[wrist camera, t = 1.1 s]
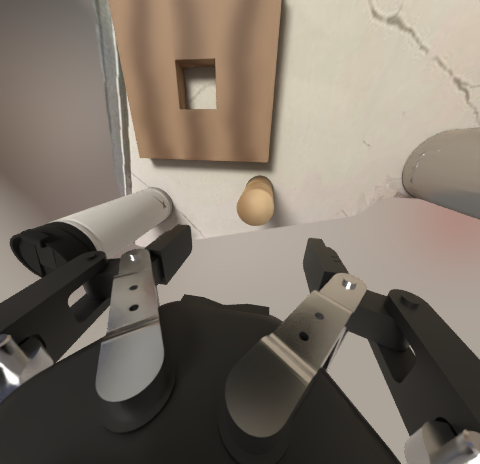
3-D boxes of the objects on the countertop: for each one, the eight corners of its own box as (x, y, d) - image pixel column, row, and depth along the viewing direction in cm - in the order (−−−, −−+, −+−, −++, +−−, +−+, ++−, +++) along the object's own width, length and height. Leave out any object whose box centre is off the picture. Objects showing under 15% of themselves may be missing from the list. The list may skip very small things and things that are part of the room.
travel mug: (176, 193, 33) (65, 249, 15) (169, 223, 36) (71, 301, 18) (143, 179, 33) (-8, 220, 15) (140, 211, 36) (9, 278, 18)
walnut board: (282, -9, 21) (283, -27, 18) (268, 161, 28) (268, 162, 26) (121, 3, 23) (106, -12, 21) (149, 157, 31) (139, 157, 28)
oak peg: (273, 174, 29) (276, 190, 18) (271, 199, 31) (272, 227, 20) (248, 173, 30) (236, 188, 19) (247, 198, 31) (235, 225, 21)
